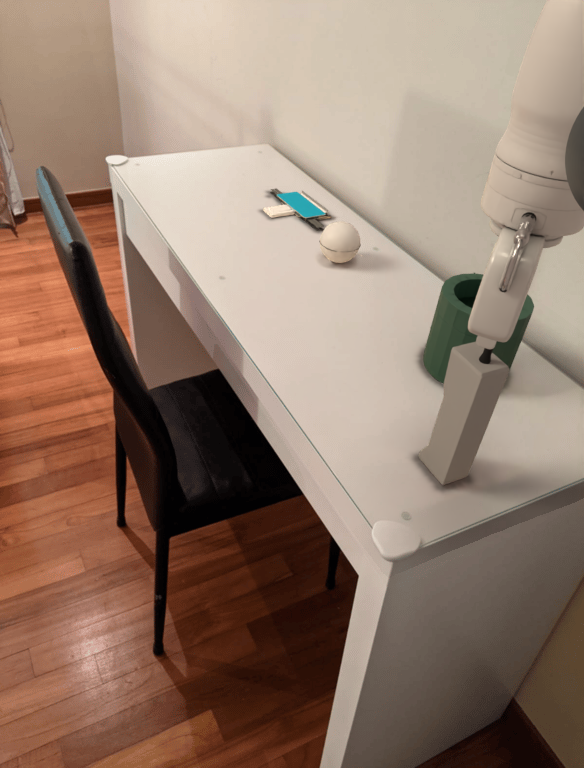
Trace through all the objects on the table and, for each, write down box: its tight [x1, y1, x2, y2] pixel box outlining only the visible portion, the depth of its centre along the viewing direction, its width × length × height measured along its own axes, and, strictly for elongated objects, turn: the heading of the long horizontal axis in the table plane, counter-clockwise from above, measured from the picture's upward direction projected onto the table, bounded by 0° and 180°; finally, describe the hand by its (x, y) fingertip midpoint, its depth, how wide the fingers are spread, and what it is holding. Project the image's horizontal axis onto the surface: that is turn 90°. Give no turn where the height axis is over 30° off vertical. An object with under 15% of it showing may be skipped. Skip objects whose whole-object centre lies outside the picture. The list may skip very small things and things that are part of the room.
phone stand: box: [262, 188, 332, 232], centre depth 127 cm, size 20×12×2 cm, turn 30°
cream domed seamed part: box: [319, 220, 364, 264], centre depth 109 cm, size 10×7×7 cm
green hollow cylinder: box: [422, 273, 535, 385], centre depth 86 cm, size 12×12×12 cm
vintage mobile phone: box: [418, 342, 511, 486], centre depth 65 cm, size 4×5×25 cm
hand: (490, 330), depth 61 cm, fingers open, 4 cm apart
